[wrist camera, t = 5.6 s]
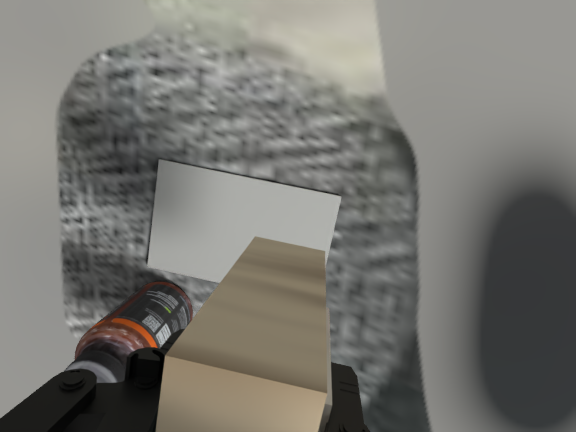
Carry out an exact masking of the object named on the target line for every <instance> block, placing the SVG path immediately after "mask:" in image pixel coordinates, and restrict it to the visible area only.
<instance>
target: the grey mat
mask: <svg viewBox="0 0 576 432" xmlns="http://www.w3.org/2000/svg"><path fill="white" fill-rule="evenodd" d="M340 201H341V196H339V195H334V194H329V193H324V192H320V191H315V190H310V189H305V188H300V187H295V186H290V185H285V184H280V183H275V182H270V181H265V180H260V179H255V178H251V177H246V176H241V175H236V174H231V173H226V172H221V171H216V170H211V169H206V168H201V167H196V166H191V165H186V164H182V163H177V162H172V161H167V160H162V159H159V164H158V173H157V182H156V191H155V200H154V210H153V219H152V228H151V237H150V246H149V256H148V265H147V267H150V268H155V269H159V270H164V271H168V272H173V273H177V274H182V275H186V276H191V277H195V278H200V279H204V280H209V281H213V282H218V283H220V282H221V281H222V280H223V278H224V277H225V276H226V274H227V273H228V272H229V270H230V269H231V268H232V266H233V265H234V264H235V262H236V261H237V260H238V258H239V257H240V256H241V254H242V253H243V252H244V250H245V249H246V248H247V247H248V245H249V244H250V243H251V241H252V240H253V239H254V237H255V236H256V237H261V238H266V239H270V240H275V241H280V242H285V243H289V244H294V245H299V246H304V247H308V248H313V249H318V250H323V251H325V267H326V263H327V258H328V254H329V249H330V245H331V240H332V236H333V232H334V227H335V223H336V218H337V214H338V209H339V205H340Z"/></svg>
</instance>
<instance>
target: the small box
mask: <svg viewBox="0 0 576 432" xmlns="http://www.w3.org/2000/svg"><path fill="white" fill-rule="evenodd" d="M326 397H327V342H326V277H325V251H323V250H318V249H313V248H308V247H304V246H299V245H294V244H289V243H285V242H280V241H275V240H270V239H266V238H261V237H256V236H255V237H254V239H253V240H252V241H251V243H250V244H249V245H248V247H247V248H246V249H245V250H244V252H243V253H242V254H241V256H240V257H239V258H238V260H237V261H236V262H235V264H234V265H233V266H232V268H231V269H230V270H229V272H228V273H227V274H226V276H225V277H224V278H223V280H222V281H221V282H220V284H219V285H218V286H217V287H216V289H215V290H214V291H213V293H212V294H211V295H210V297H209V298H208V299H207V301H206V302H205V303H204V305H203V306H202V307H201V309H200V310H199V311H198V313H197V314H196V315H195V317H194V318H193V319H192V321H191V322H190V323H189V325H188V326H187V327H186V328H185V330H184V331H183V332H182V334H181V335H180V336H179V338H178V339H177V340H176V342H175V343H174V344H173V346H172V347H171V348H170V350H169V351H168V352H167V354H166V355H165V360H164V368H163V376H162V384H161V392H160V400H159V408H158V416H157V424H156V432H318V429H319V425H320V421H321V417H322V413H323V409H324V405H325V401H326Z"/></svg>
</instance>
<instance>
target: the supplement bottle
mask: <svg viewBox="0 0 576 432" xmlns="http://www.w3.org/2000/svg"><path fill="white" fill-rule="evenodd" d="M192 316H193V310H192V305H191V302H190V300H189V298H188V297H187V295H186V294H185V293H184V292H183V291H182V290H181V289H180V288H179V287H177V286H175V285H173V284H171V283H167V282H152V283H149V284H146V285H145V286H143V287H142V288H140V289H139V290H137V291H136V292H135V293H134V294H133V295H131V296H130V297H129V298H128V299H126V300H125V301H124V302H123V303H121V304H120V305H119V306H118V307H116V308H115V309H114V310H113V311H111V312H110V313H109V314H108V315H107V316H105V317H104V318H103V319H101V320H100V321H99V322H98V323H97V324H96V325H94V326H93V327H92V328H91V329H89V330H88V331H87V332H86V333H85V334H84V336H83V337H82V338H81V340H80V341H79V343H78V345H77V347H76V351H75V361H74V362H72V363H71V364H70V365H69V366H68V367H67V368H66V370H65V371H67V370H70V369H79V368H81V369H88V370H90V371H92V372H94V373H95V375H96V376H97V383H114V382H122V381H124V379H125V370H126V360H127V356H128V355H129V354H130V353H131V352H133V351H135V350H137V349H140V348H145V347H155V348H161V346H162V345H163V344H164V343H165V342H166V340H167V339H168V338H169V336H170V335H171V334H172V333H174V332H176V331H178V330H180V329H185V328H186V327H187V326H188V325H189V323H190V322H191V321H192Z"/></svg>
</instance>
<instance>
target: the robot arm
mask: <svg viewBox="0 0 576 432" xmlns="http://www.w3.org/2000/svg"><path fill="white" fill-rule="evenodd" d="M184 330H185V329H180V330H178V331H176V332H174V333H172V334H171V335H170V336H169V338H168V339H167V340H166V342H165V343H164V344H163V345H162V346H161V348H155V347H145V348H140V349H137V350H135V351H133V352H131V353H130V354H129V355H128V356H127V360H126V370H125V379H124V381H122V382H114V383H97V376H96V375H95V373H94V372H92V371H90V370H88V369H81V368H79V369H70V370H67V371H64V372H61V373H60V374H58V375H56V376H55V377H53V378H52V379H50V380H49V381H48V382H47V383H45V384H44V385H43V386H42V387H40V388H39V389H38V390H36V391H35V392H34V393H32V394H31V395H30V396H29V397H27V398H26V399H25V400H23V401H22V402H21V403H20V404H18V405H17V406H16V407H14V409H12V410H11V411H9V412H8V413H7V414H5V415H4V416H3V417H2V418H0V432H156V424H157V416H158V408H159V400H160V392H161V384H162V376H163V368H164V360H165V355H166V354H167V352H168V351H169V350H170V348H171V347H172V346H173V344H174V343H175V342H176V340H177V339H178V338H179V336H180V335H181V334H182V332H183V331H184ZM326 342H327V397H326V401H325V405H324V409H323V413H322V417H321V421H320V425H319V429H318V432H370V431H369V429H368V428H367V426H366V425H365V424H364V420H363V413H362V407H361V400H360V395H359V394H360V393H359V387H358V379H357V375H356V374H355V372H354V371H353V369H352V368H351V367H349V366H345V365H341V364H336V363H332V362H331V352H330V322H329V308H326Z"/></svg>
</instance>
